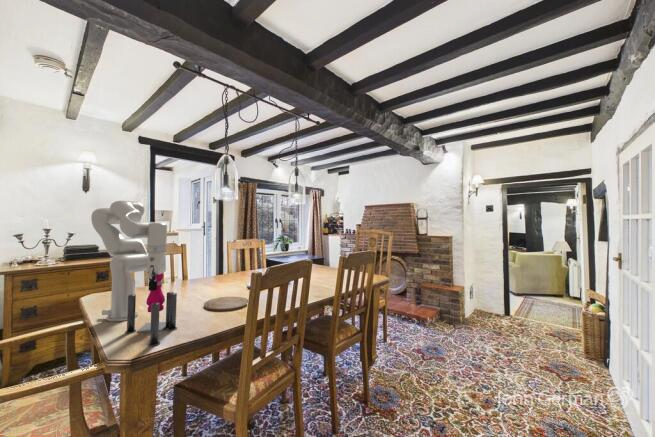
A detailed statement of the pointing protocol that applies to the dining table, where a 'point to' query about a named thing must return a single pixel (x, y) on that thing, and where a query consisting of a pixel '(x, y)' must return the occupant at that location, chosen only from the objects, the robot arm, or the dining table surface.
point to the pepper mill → (156, 294)
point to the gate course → (153, 317)
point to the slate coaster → (148, 326)
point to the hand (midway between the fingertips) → (155, 288)
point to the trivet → (225, 304)
